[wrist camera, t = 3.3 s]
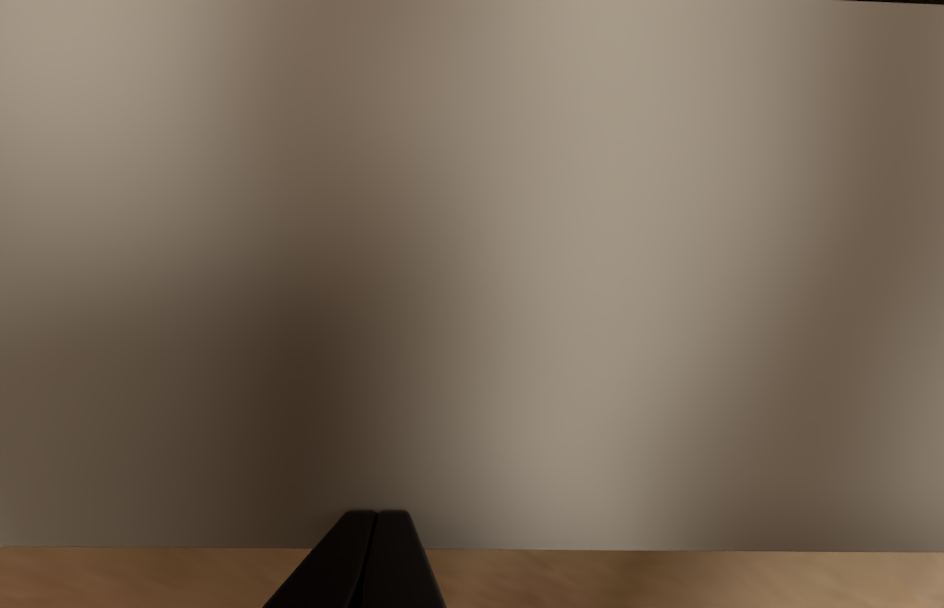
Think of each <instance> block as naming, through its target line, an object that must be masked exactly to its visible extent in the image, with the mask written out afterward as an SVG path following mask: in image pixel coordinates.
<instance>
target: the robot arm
mask: <svg viewBox="0 0 944 608" xmlns="http://www.w3.org/2000/svg"><path fill="white" fill-rule="evenodd" d="M262 608H447V607H446V604H445V602H444V599H443V596H442V594H441V591H440V589H439V586H438V584H437V581H436V579H435V576H434V574H433V571H432V569H431V566H430V564H429V561H428V558H427V556H426V553H425V551H424V548H423V546H422V543H421V541H420V538H419V536H418V533H417V531H416V528H415V526H414V523H413V521H412V518H411V516H410V514H409V513H408V512H407V511H404V510H383V511H381V512H379V514H378V515H377V513H376V512H375V511H373V510H350V511H347V512H345V513H344V514H343V515H342V516H341V518H340V519H339V520H338V521H337V522H336V523H335V524H334V526H333V527H332V528H331V529H330V530H329V531H328V532H327V534H326V535H325V536H324V537H323V538H322V539H321V541H320V542H319V543H318V544H317V545H316V546H315V547H314V549H313V550H312V551H311V552H310V553H309V554H308V555H307V557H306V558H305V559H304V560H303V561H302V562H301V564H300V565H299V566H298V567H297V568H296V569H295V570H294V572H293V573H292V574H291V575H290V576H289V577H288V578H287V580H286V581H285V582H284V583H283V584H282V585H281V586H280V588H279V589H278V590H277V591H276V592H275V593H274V595H273V596H272V597H271V598H270V599H269V600H268V601H267V603H266V604H265V605H264V606H263V607H262Z"/></svg>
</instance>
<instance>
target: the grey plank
mask: <svg viewBox="0 0 944 608" xmlns="http://www.w3.org/2000/svg"><path fill="white" fill-rule="evenodd" d="M350 510H373V511H375V512H376V513H377V515H378V514H379V512H381V511H383V510H404V511H407V512H408V513H409V514H410V516H411V518H412V521H413V523H414V526H415V528H416V531H417V533H418V536H419V538H420V541H421V543H422V546H423V548H424V549H490V550H643V551H796V552H944V5H936V4H913V3H890V2H866V1H843V0H0V546H30V547H183V548H314V547H315V546H316V545H317V544H318V543H319V542H320V541H321V539H322V538H323V537H324V536H325V535H326V534H327V532H328V531H329V530H330V529H331V528H332V527H333V526H334V524H335V523H336V522H337V521H338V520H339V519H340V518H341V516H342V515H343V514H344V513H345V512H347V511H350Z"/></svg>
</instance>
